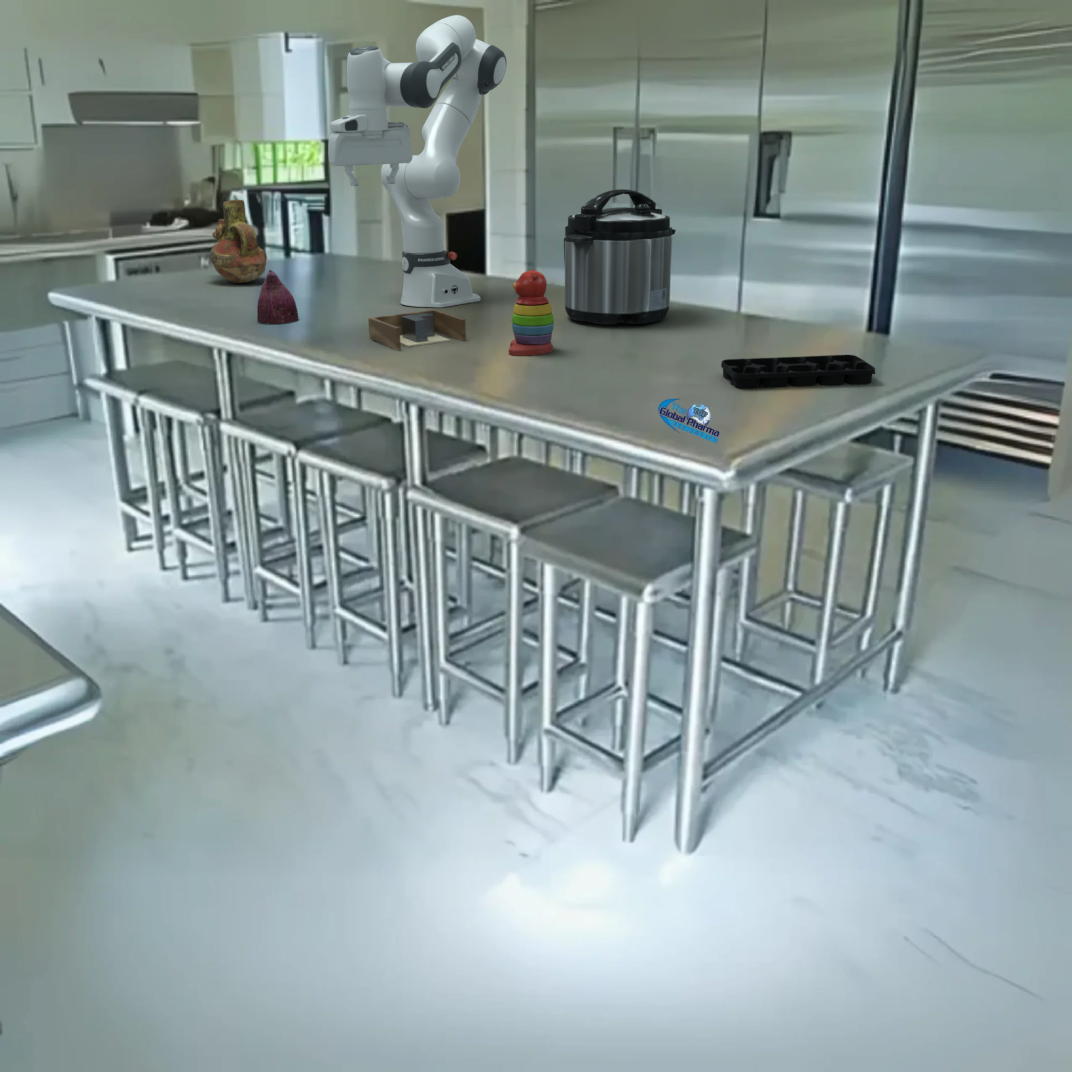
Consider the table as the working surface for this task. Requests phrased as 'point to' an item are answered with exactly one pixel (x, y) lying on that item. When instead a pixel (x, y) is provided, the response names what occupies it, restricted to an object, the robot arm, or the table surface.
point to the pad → (430, 341)
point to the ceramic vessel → (237, 246)
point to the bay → (391, 327)
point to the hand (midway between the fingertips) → (373, 185)
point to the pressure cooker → (618, 261)
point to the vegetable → (275, 302)
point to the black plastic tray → (797, 371)
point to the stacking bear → (531, 316)
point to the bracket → (418, 327)
